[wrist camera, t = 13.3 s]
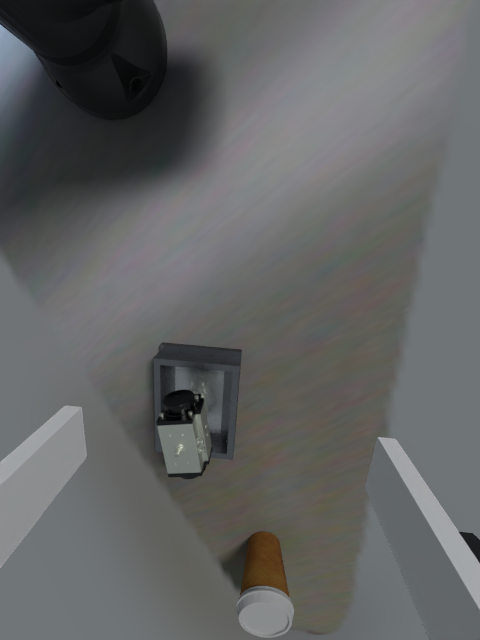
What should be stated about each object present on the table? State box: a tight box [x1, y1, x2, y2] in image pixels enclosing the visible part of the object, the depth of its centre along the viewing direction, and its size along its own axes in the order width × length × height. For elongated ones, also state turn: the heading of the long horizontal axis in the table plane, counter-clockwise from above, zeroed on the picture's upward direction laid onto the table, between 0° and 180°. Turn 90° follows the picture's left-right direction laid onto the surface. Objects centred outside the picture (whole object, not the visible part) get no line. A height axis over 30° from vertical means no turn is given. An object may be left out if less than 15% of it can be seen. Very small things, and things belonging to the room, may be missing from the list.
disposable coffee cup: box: [236, 532, 294, 638], centre depth 51 cm, size 10×10×12 cm
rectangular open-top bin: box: [154, 343, 242, 460], centre depth 47 cm, size 19×13×4 cm
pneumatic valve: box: [156, 390, 212, 479], centre depth 42 cm, size 6×12×12 cm, turn 6°
